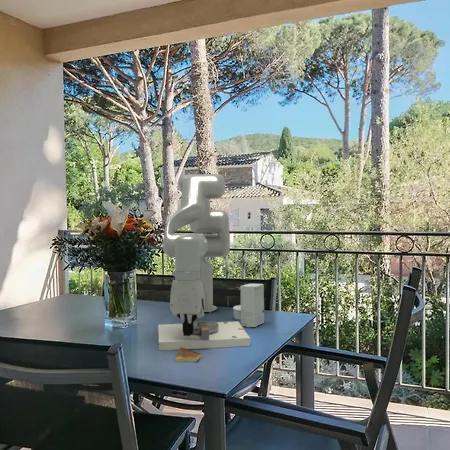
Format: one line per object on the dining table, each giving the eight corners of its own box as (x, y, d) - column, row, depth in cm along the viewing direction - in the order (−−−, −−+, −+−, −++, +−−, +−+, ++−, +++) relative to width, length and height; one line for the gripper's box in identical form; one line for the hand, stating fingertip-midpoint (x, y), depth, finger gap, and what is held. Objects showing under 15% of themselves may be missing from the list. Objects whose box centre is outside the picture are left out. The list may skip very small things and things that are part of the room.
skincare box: (254, 328, 173) (254, 286, 172) (239, 326, 176) (239, 285, 175) (264, 323, 180) (264, 283, 179) (250, 321, 183) (250, 282, 182)
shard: (180, 351, 147) (180, 346, 147) (205, 352, 147) (205, 346, 147) (174, 363, 137) (174, 357, 137) (201, 364, 136) (201, 358, 136)
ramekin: (259, 319, 186) (259, 308, 186) (238, 322, 183) (238, 310, 183) (249, 315, 194) (249, 304, 194) (229, 317, 191) (229, 306, 191)
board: (158, 331, 169) (158, 323, 169) (238, 328, 173) (238, 320, 173) (158, 350, 147) (158, 341, 147) (250, 346, 151) (250, 337, 151)
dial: (183, 326, 165) (183, 315, 165) (216, 325, 166) (216, 314, 166) (187, 340, 148) (187, 328, 147) (223, 339, 149) (223, 327, 149)
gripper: (160, 276, 150) (160, 335, 151) (204, 279, 144) (205, 340, 145) (171, 273, 157) (172, 329, 158) (214, 275, 151) (215, 334, 152)
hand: (188, 334), depth 151 cm, fingers closed
